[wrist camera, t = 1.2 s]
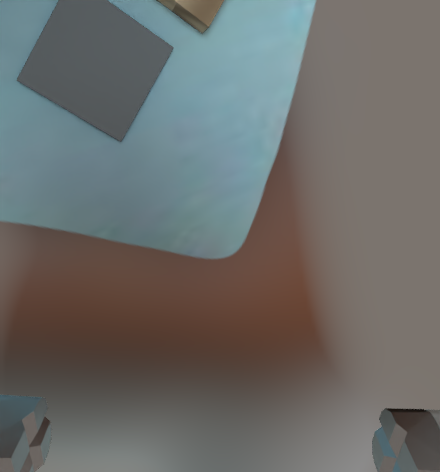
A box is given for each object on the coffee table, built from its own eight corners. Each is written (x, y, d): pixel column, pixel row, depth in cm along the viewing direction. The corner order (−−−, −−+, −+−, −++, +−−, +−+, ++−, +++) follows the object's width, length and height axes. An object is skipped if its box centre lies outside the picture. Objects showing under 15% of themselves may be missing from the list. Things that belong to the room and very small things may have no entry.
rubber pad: (17, 81, 33) (16, 80, 32) (72, -22, 32) (72, -25, 32) (120, 141, 36) (121, 141, 35) (172, 49, 35) (173, 47, 35)
